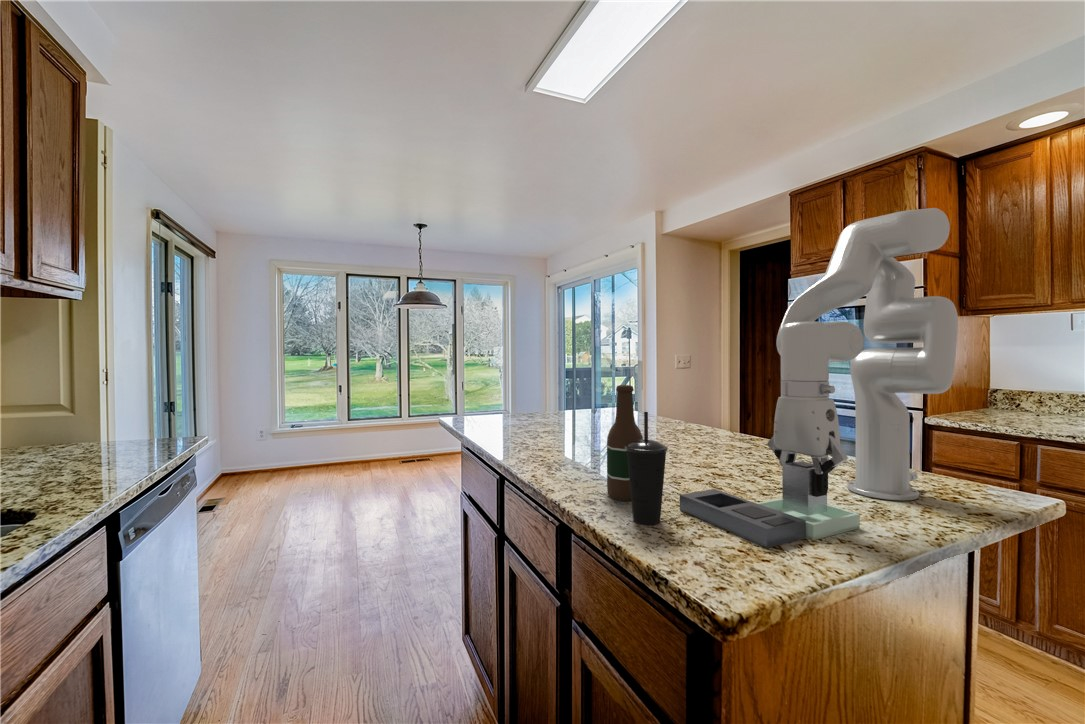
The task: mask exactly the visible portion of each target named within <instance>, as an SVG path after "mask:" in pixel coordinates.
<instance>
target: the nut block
mask: <svg viewBox="0 0 1085 724" xmlns="http://www.w3.org/2000/svg"><path fill="white" fill-rule="evenodd" d="M781 468H782V474H781V475H782V478H781V479H782V480H781V481H782V482H781V483H782V484H781V485H782V498H783V508H786V509H789V510H792V511H795V512H798V513H801V514H804V515H807V516H809V515H814V514H818V513H823V512H827V505H828V494H827V495H824V496H819V497H815V496H813V495H812V474H813V473H815V469H814V465H813V462H808V461H804V460H798V461H795V462H791V463H784V464H782V467H781Z"/></svg>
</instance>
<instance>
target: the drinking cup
mask: <svg viewBox="0 0 1085 724" xmlns="http://www.w3.org/2000/svg"><path fill="white" fill-rule="evenodd" d="M643 428H644V429H643V430H644V431H643V435H644V436H643V440H637V441H634V442H632V443H630V444H627V445H625V449H626V450H627V459H628V470H629V480H630V491H631V501H630V502H631V510H632V519H633V522H634V523H636V524H639V525H643V526H655V525H658V524H660V523H661V518H662V517H661V515H662V514H661V513H662V505H663V491H664V479H665V468H666V456H667V452H668V449H669V448H668V447H667V445H665V444H662V443H661V442H659V441H656V440H653V439H649V412H648V411H644V412H643Z"/></svg>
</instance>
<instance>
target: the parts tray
mask: <svg viewBox="0 0 1085 724" xmlns="http://www.w3.org/2000/svg"><path fill="white" fill-rule="evenodd" d="M756 503H757V504H760V505H763V506H766V507H768V508H771V509H774V510H777V511H780V512H783V513H786V514H789V515H792V516H795V517H798V518H801V519H804V520H806V538H807V539H810V540H812V541H816V540H819V539H823V538H827V537H832V536H834V535H840V534H842V533H847V532H850V531H855V530H858V529H861V527H860V524H861V523H860V521H861V518H860V517H861V515H860V513H858V512H854V511H851V510H847V509H844V508H841V507H836V506H834V505H829V504H827V512H823V513H818V514H814V515H809V516H807V515H804V514H801V513H798V512H795V511H792V510H789V509H786V508H783V497H781V498H776V499H775V498H774V499H770V500H765V501H760V502H756Z"/></svg>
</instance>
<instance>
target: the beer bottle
mask: <svg viewBox="0 0 1085 724" xmlns="http://www.w3.org/2000/svg"><path fill="white" fill-rule="evenodd" d="M615 391H616V393H617V394H616V395H617V396H616V409H615V410H616V411H615V420H614V423H613V424H612V426H611V427H610V429H609V431H608V434H607V442H606V486H607V487H606V489H607V491H606V492H607V495H608V497H610V498H611V499H612V500H615V501H620V502H632V501H631V491H630V480H629V470H628V459H627V450H626V449H625V445H627V444H630V443H632V442H634V441H637V440H643V439H644V436H643V434H642V432H641V429H640V428H639V426H638V425H637V424H636V420H635V413H634V397H633V395H634V394H633V392H635V389H634V387H633V385H631V384H620V385H617V386H616V389H615Z"/></svg>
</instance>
